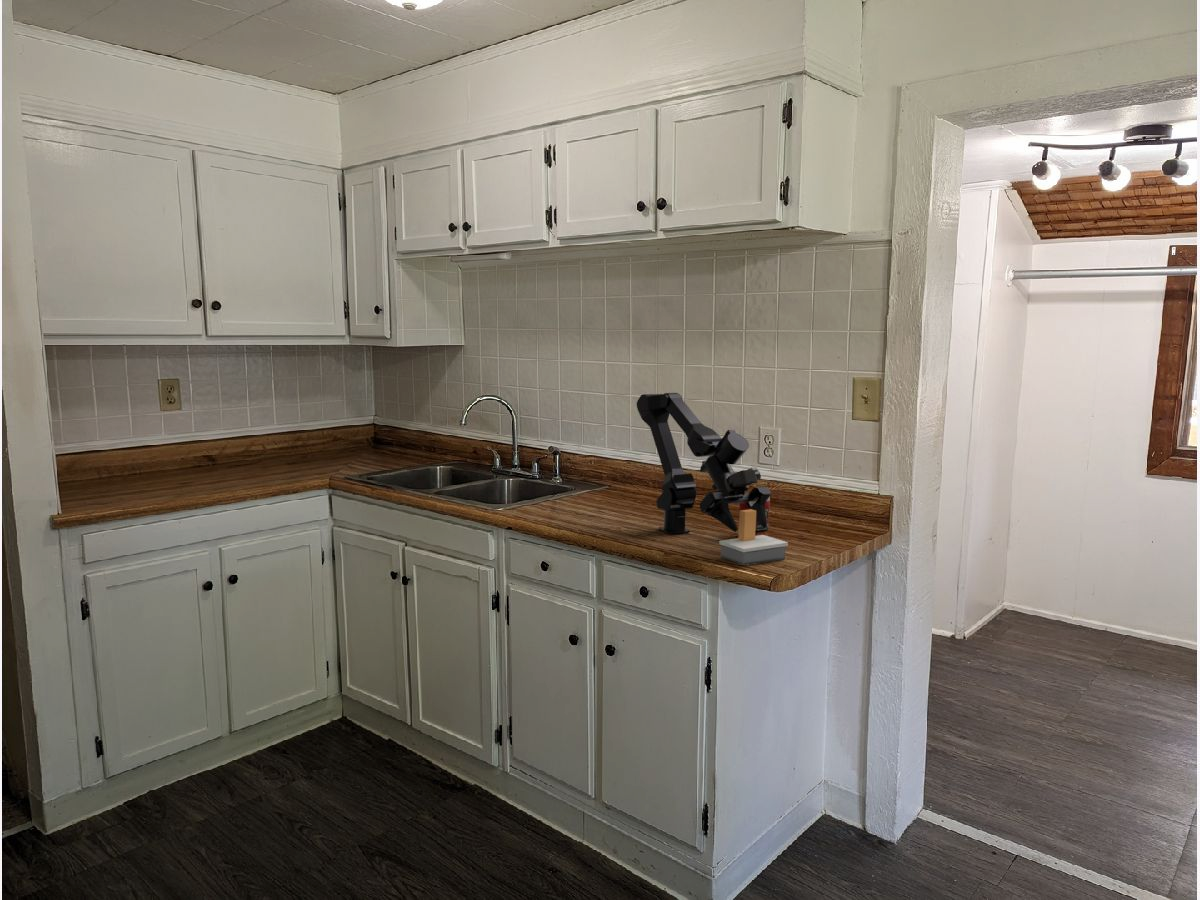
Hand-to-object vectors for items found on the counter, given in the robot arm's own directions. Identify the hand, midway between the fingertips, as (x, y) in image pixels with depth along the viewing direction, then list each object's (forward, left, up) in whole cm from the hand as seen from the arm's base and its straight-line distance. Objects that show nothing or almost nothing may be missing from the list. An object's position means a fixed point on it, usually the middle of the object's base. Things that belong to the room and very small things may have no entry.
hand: (751, 528), depth 203 cm
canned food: (-17, +12, -7) cm, 22 cm away
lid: (+1, 0, -4) cm, 4 cm away
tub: (+1, 0, -7) cm, 7 cm away
